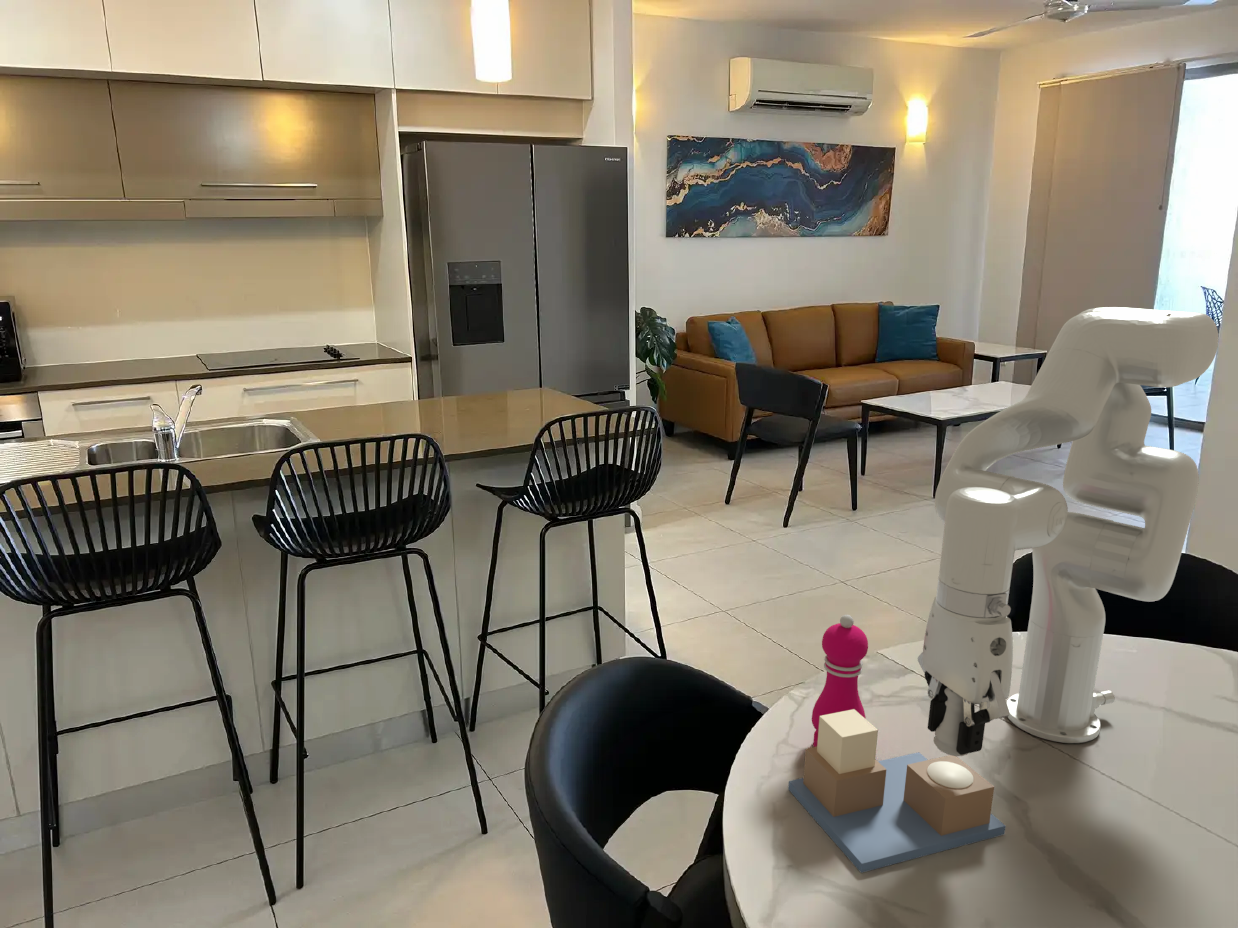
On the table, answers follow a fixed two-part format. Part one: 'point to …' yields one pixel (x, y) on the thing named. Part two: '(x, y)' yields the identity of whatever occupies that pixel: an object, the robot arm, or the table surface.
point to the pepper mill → (841, 670)
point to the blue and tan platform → (890, 797)
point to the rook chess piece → (950, 724)
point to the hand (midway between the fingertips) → (954, 738)
